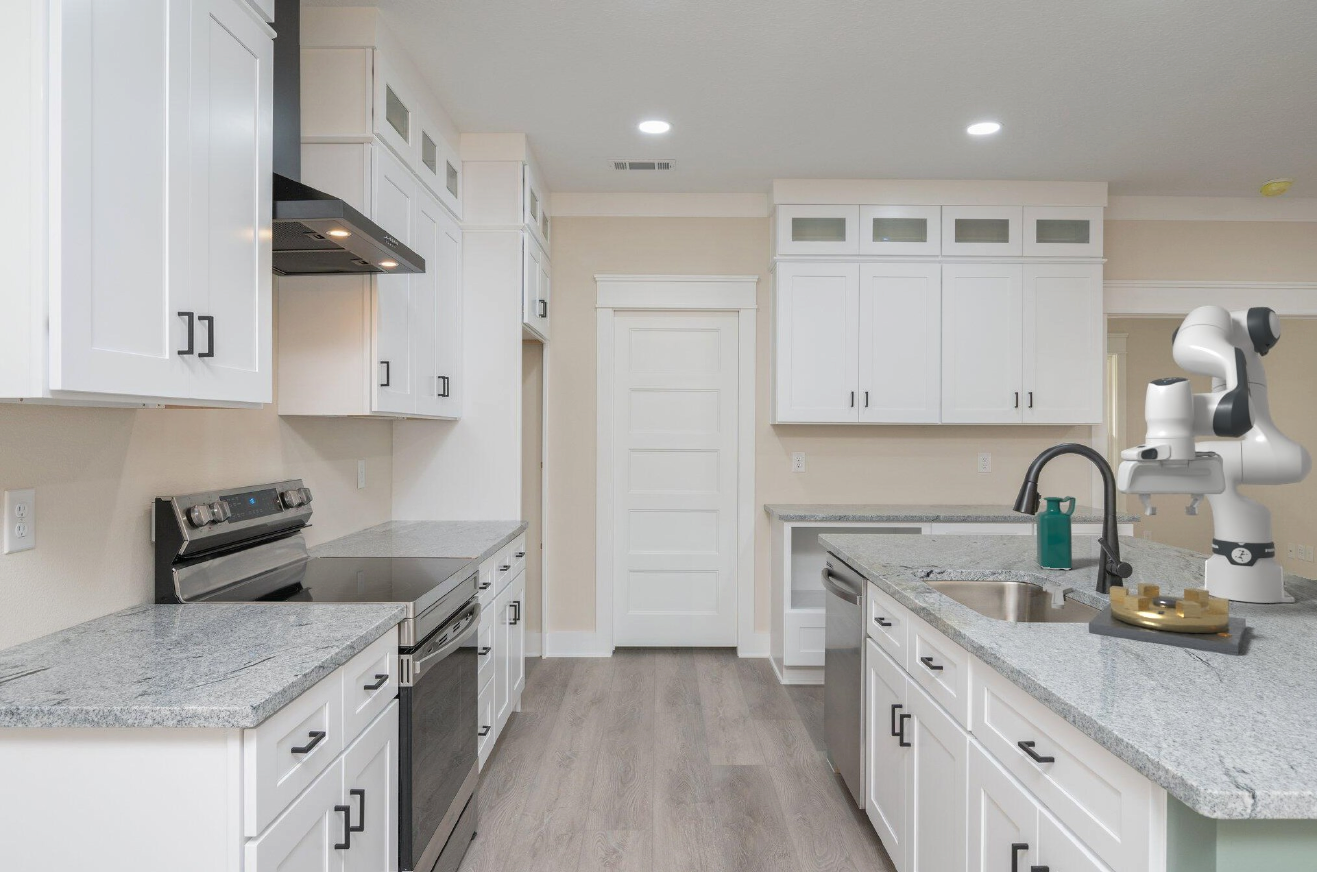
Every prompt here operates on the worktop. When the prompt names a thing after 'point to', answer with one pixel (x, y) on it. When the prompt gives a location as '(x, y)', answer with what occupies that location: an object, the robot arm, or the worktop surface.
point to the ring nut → (1170, 609)
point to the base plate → (1172, 634)
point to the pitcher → (1055, 534)
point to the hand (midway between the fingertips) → (1171, 515)
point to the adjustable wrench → (1057, 594)
